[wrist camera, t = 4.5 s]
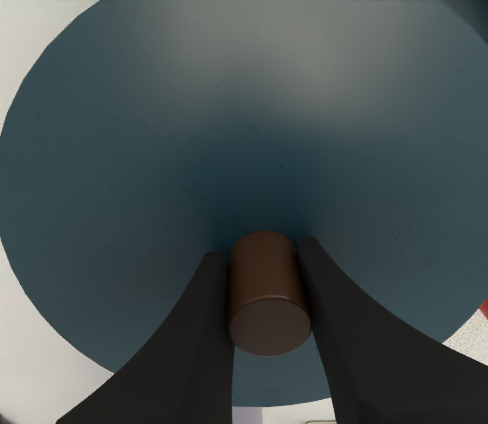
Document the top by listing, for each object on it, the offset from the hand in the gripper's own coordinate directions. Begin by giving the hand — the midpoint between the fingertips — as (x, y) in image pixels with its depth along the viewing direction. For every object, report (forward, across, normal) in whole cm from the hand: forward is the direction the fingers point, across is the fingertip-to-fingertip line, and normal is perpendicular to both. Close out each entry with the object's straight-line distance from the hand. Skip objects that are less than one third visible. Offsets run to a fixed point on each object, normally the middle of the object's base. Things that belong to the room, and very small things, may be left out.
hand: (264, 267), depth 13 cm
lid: (+1, 0, 0) cm, 1 cm away
